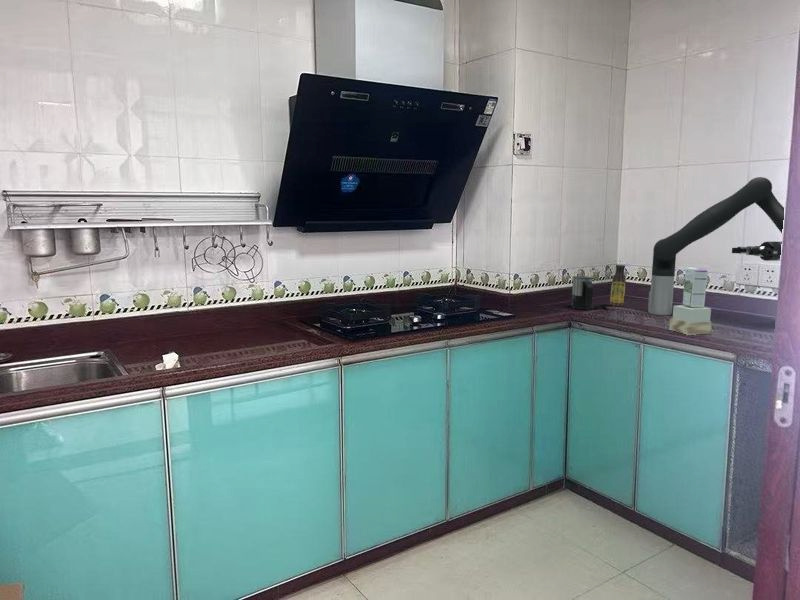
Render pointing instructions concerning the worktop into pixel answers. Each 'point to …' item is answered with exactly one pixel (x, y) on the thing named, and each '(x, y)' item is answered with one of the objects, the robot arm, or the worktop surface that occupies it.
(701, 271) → the syrup box
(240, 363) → the worktop surface
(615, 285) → the sauce bottle
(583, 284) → the milk frother
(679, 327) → the bottom block
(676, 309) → the top block
